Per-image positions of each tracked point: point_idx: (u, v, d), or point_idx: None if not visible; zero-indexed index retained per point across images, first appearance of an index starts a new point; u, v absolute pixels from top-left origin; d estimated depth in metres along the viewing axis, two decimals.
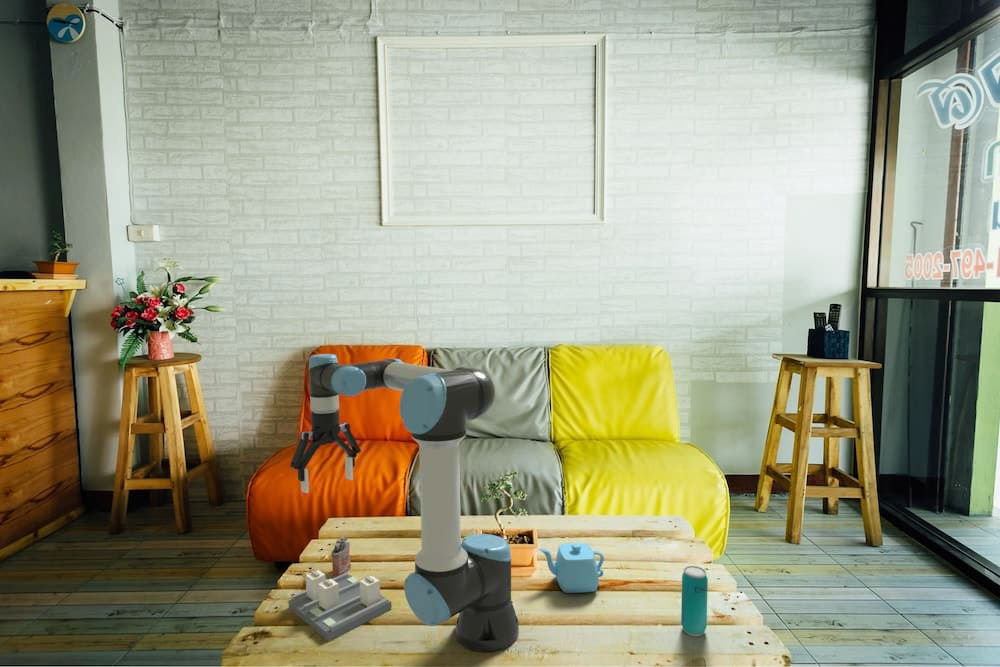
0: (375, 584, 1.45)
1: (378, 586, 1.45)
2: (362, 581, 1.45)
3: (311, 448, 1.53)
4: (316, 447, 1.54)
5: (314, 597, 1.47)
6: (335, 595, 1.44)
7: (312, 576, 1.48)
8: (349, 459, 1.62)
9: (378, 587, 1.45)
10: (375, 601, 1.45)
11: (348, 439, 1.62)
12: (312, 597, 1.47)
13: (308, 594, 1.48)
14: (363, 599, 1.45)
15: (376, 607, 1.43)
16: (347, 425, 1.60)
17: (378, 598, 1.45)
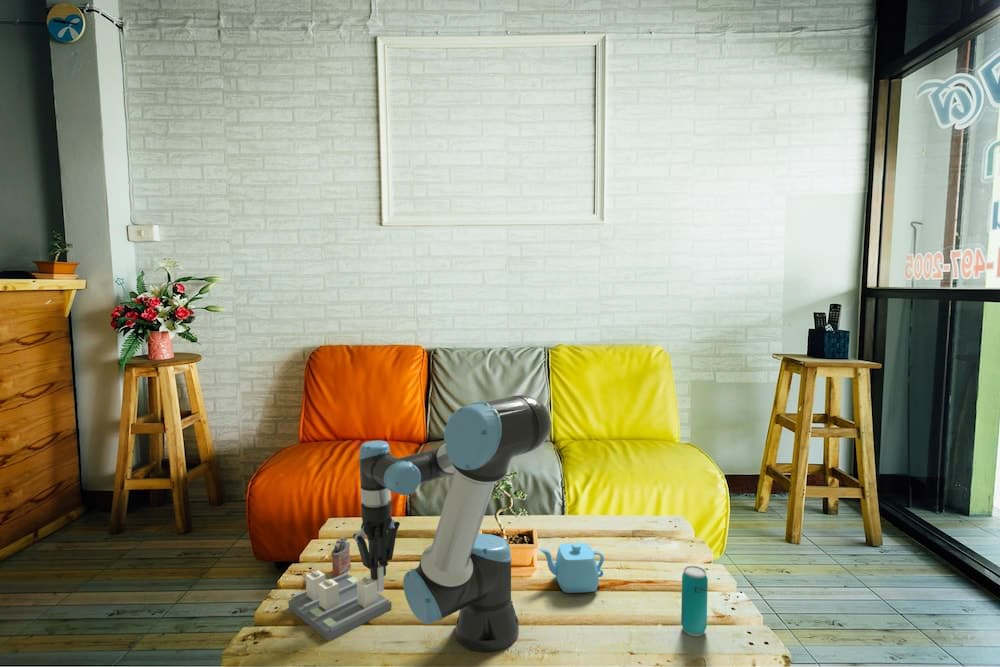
0: (373, 586, 1.44)
1: (376, 588, 1.45)
2: (359, 582, 1.45)
3: (372, 546, 1.45)
4: (376, 543, 1.45)
5: (314, 597, 1.47)
6: (335, 595, 1.44)
7: (312, 576, 1.48)
8: None
9: (375, 588, 1.45)
10: (372, 602, 1.44)
11: (388, 539, 1.49)
12: (312, 597, 1.47)
13: (308, 594, 1.48)
14: (360, 600, 1.44)
15: (376, 607, 1.43)
16: (398, 523, 1.49)
17: (375, 599, 1.45)
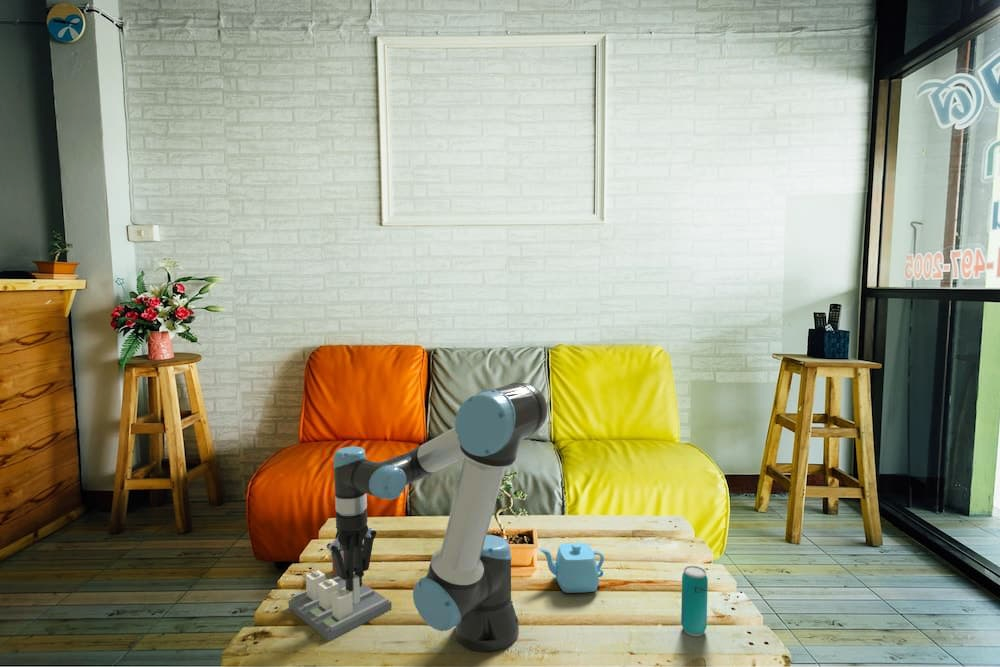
0: (347, 597, 1.39)
1: (351, 599, 1.40)
2: (334, 594, 1.39)
3: (347, 556, 1.40)
4: (351, 553, 1.40)
5: (314, 597, 1.47)
6: None
7: (312, 576, 1.48)
8: None
9: (350, 600, 1.40)
10: (347, 615, 1.39)
11: (364, 549, 1.44)
12: (312, 597, 1.47)
13: (308, 594, 1.48)
14: (335, 612, 1.39)
15: (376, 607, 1.43)
16: (374, 532, 1.44)
17: (350, 611, 1.40)
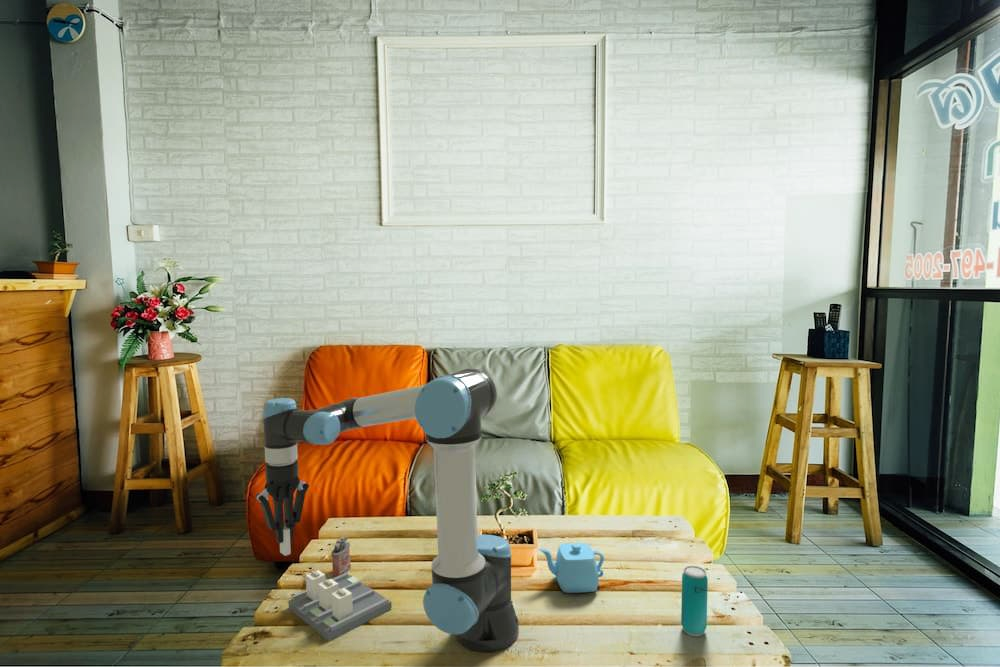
0: (347, 597, 1.39)
1: (351, 599, 1.40)
2: (334, 594, 1.39)
3: (277, 507, 1.39)
4: (281, 504, 1.39)
5: (314, 597, 1.47)
6: None
7: (312, 576, 1.48)
8: (286, 531, 1.41)
9: (350, 600, 1.40)
10: (347, 615, 1.39)
11: (296, 501, 1.44)
12: (312, 597, 1.47)
13: (308, 594, 1.48)
14: (335, 613, 1.39)
15: (376, 607, 1.43)
16: (306, 485, 1.44)
17: (350, 611, 1.40)
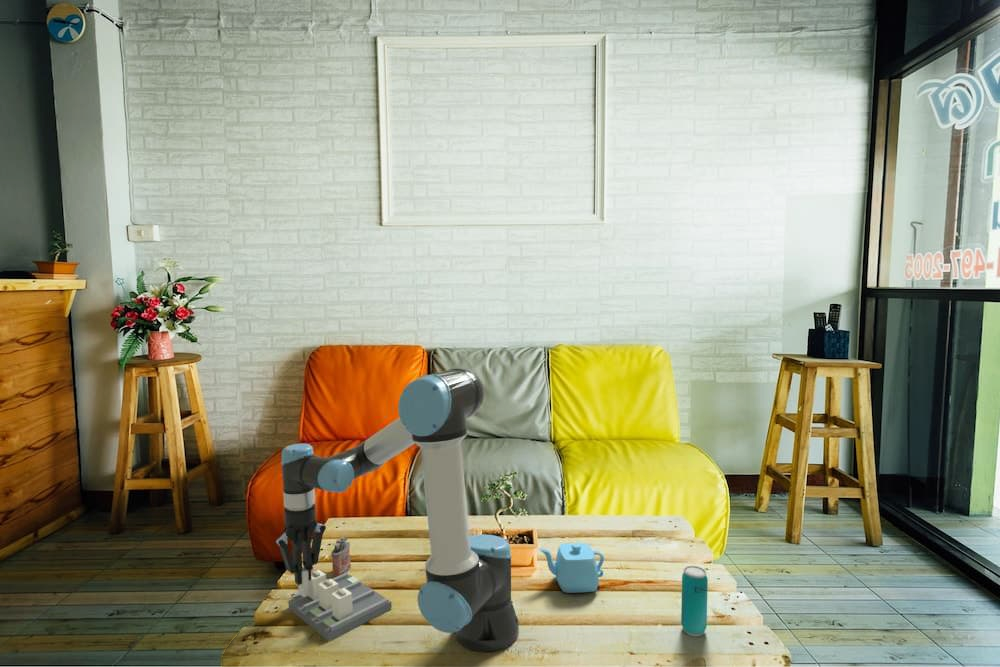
0: (347, 597, 1.39)
1: (351, 599, 1.40)
2: (334, 594, 1.39)
3: (295, 550, 1.43)
4: (299, 547, 1.43)
5: (315, 597, 1.47)
6: None
7: (312, 576, 1.48)
8: None
9: (350, 600, 1.40)
10: (347, 615, 1.39)
11: (314, 543, 1.48)
12: (313, 597, 1.47)
13: (309, 594, 1.48)
14: (335, 613, 1.39)
15: (376, 607, 1.43)
16: (323, 527, 1.48)
17: (350, 611, 1.40)
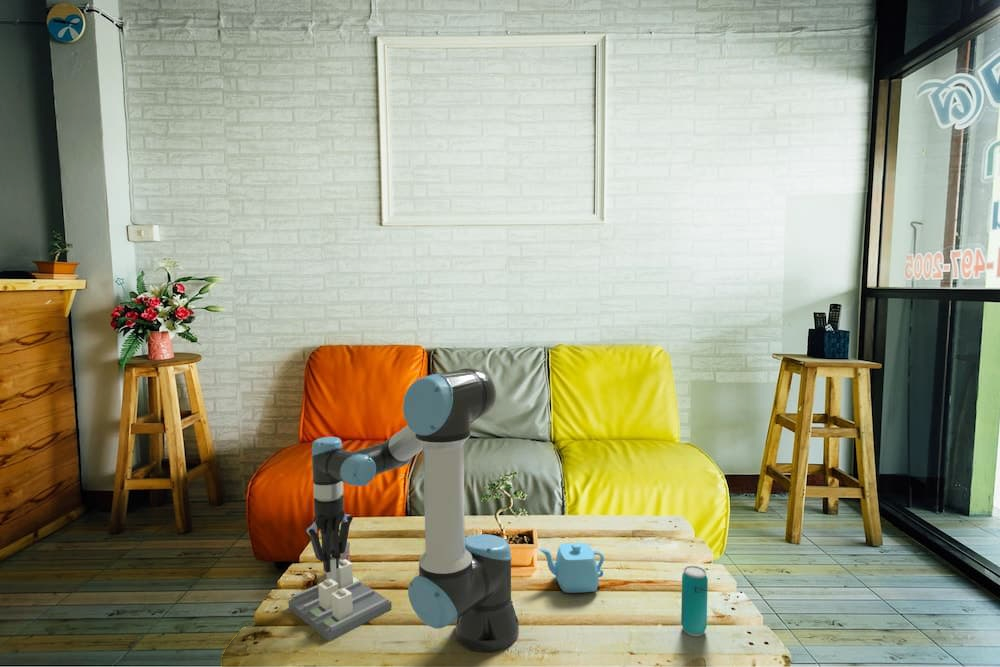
0: (347, 597, 1.39)
1: (351, 599, 1.40)
2: (334, 594, 1.39)
3: (324, 539, 1.49)
4: (328, 536, 1.49)
5: (342, 585, 1.53)
6: None
7: (340, 565, 1.54)
8: None
9: (350, 600, 1.40)
10: (347, 615, 1.39)
11: (341, 533, 1.54)
12: (340, 585, 1.53)
13: None
14: (335, 613, 1.39)
15: (376, 607, 1.43)
16: (350, 517, 1.54)
17: (350, 611, 1.40)
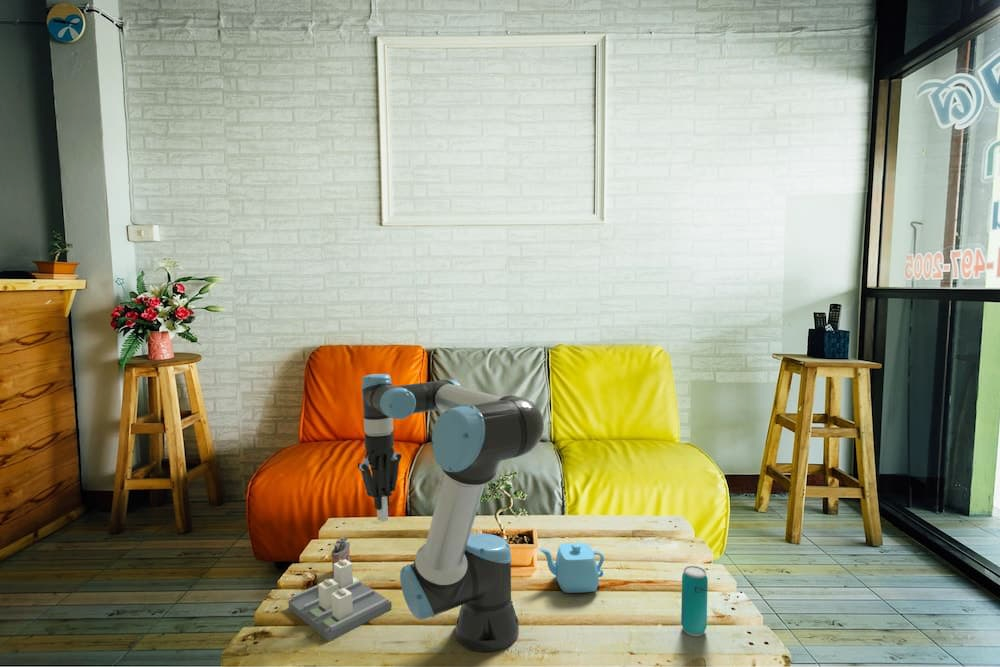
0: (347, 597, 1.39)
1: (351, 599, 1.40)
2: (334, 594, 1.39)
3: (376, 476, 1.49)
4: (380, 472, 1.49)
5: (342, 585, 1.53)
6: None
7: (340, 565, 1.53)
8: None
9: (350, 600, 1.40)
10: (347, 615, 1.39)
11: (391, 471, 1.53)
12: (340, 585, 1.53)
13: None
14: (335, 613, 1.39)
15: (376, 607, 1.43)
16: (399, 455, 1.54)
17: (350, 611, 1.40)
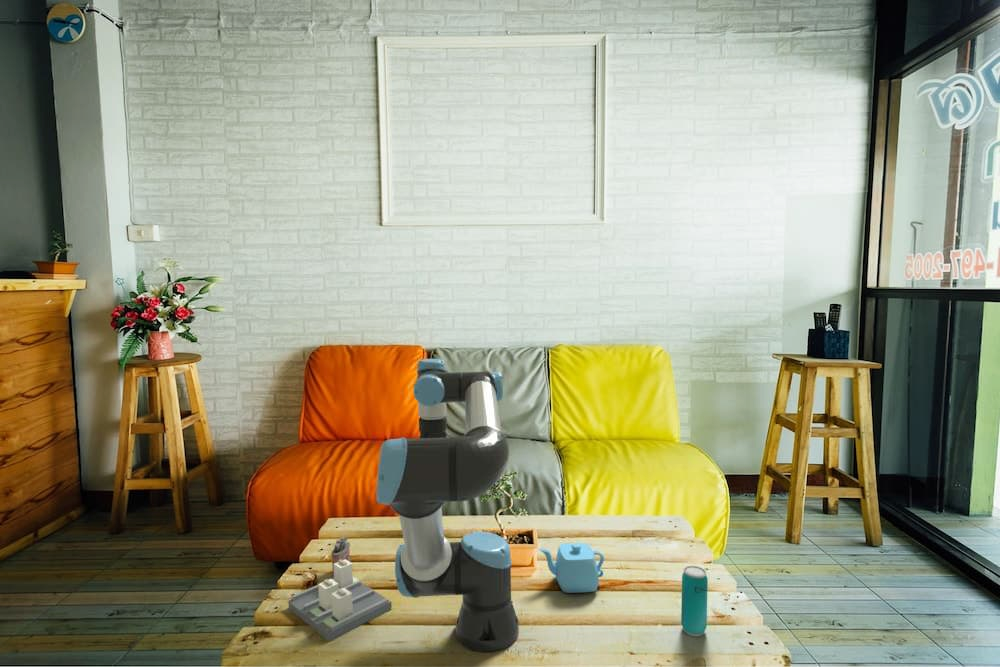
0: (347, 597, 1.39)
1: (351, 599, 1.40)
2: (334, 594, 1.39)
3: None
4: None
5: (342, 585, 1.53)
6: None
7: (340, 565, 1.53)
8: None
9: (350, 600, 1.40)
10: (347, 615, 1.39)
11: None
12: (340, 585, 1.53)
13: None
14: (335, 613, 1.39)
15: (376, 607, 1.43)
16: None
17: (350, 611, 1.40)
